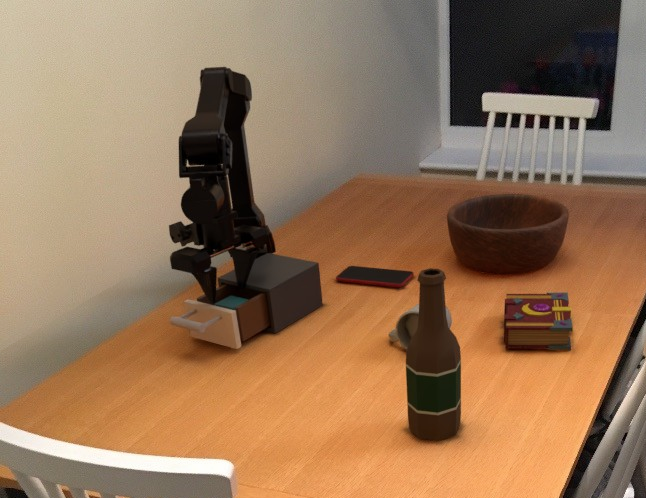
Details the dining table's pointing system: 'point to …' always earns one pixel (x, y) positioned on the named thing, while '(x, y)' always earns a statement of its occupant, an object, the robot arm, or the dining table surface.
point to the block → (231, 302)
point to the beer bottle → (433, 365)
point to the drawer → (225, 317)
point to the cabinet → (283, 287)
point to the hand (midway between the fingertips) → (227, 295)
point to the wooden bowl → (507, 232)
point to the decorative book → (537, 321)
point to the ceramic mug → (410, 326)
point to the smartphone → (375, 276)
